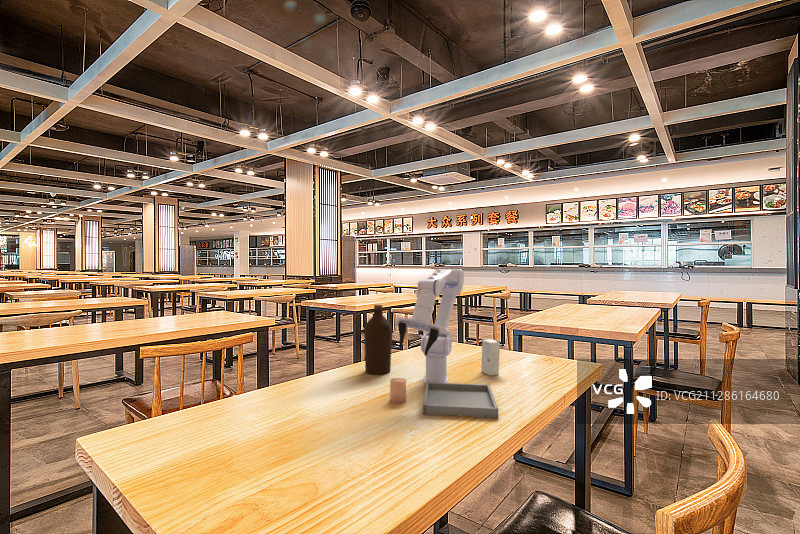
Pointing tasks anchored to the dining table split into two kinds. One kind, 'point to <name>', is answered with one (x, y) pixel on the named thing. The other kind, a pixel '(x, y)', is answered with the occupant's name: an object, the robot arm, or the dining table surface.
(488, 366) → the skincare box
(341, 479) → the dining table surface
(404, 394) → the pink rounded cylinder
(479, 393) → the tray
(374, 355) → the olive oil
